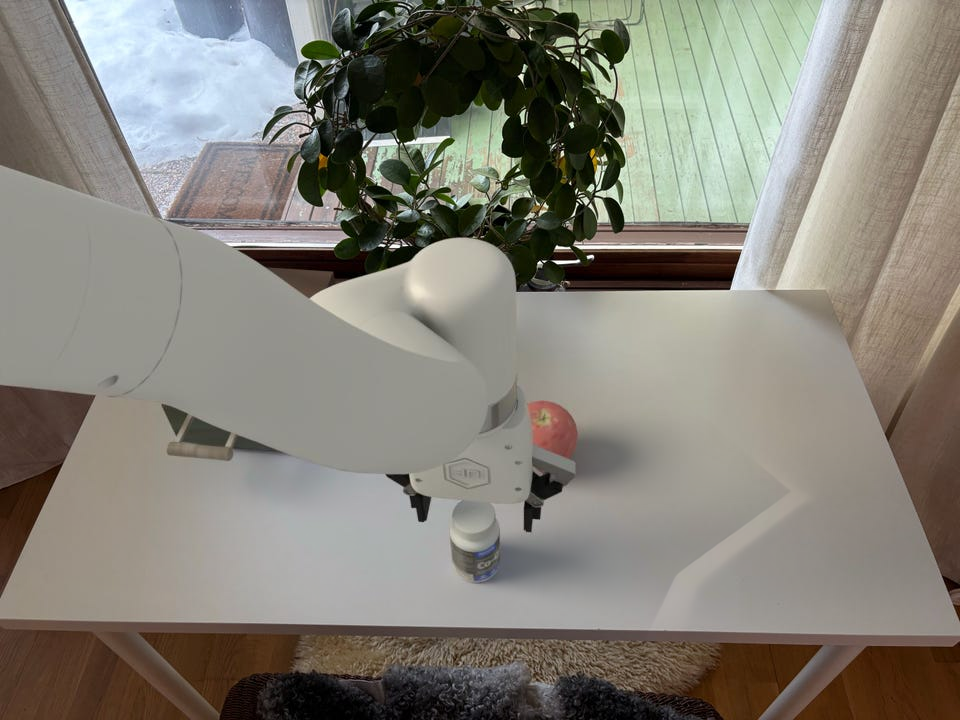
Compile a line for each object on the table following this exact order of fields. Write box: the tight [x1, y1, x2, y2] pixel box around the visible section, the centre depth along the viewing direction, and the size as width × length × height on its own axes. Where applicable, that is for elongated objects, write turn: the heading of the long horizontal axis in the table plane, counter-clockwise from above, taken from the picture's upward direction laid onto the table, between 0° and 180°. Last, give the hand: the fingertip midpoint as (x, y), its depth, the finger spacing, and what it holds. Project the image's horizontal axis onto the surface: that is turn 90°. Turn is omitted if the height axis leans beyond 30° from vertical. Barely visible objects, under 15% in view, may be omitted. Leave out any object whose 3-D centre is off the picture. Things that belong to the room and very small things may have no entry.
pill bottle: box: [449, 500, 501, 584], centre depth 75 cm, size 5×5×8 cm
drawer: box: [160, 403, 280, 462], centre depth 88 cm, size 18×12×6 cm
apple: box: [527, 400, 579, 473], centre depth 84 cm, size 7×7×8 cm
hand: (476, 513), depth 72 cm, fingers open, 9 cm apart
